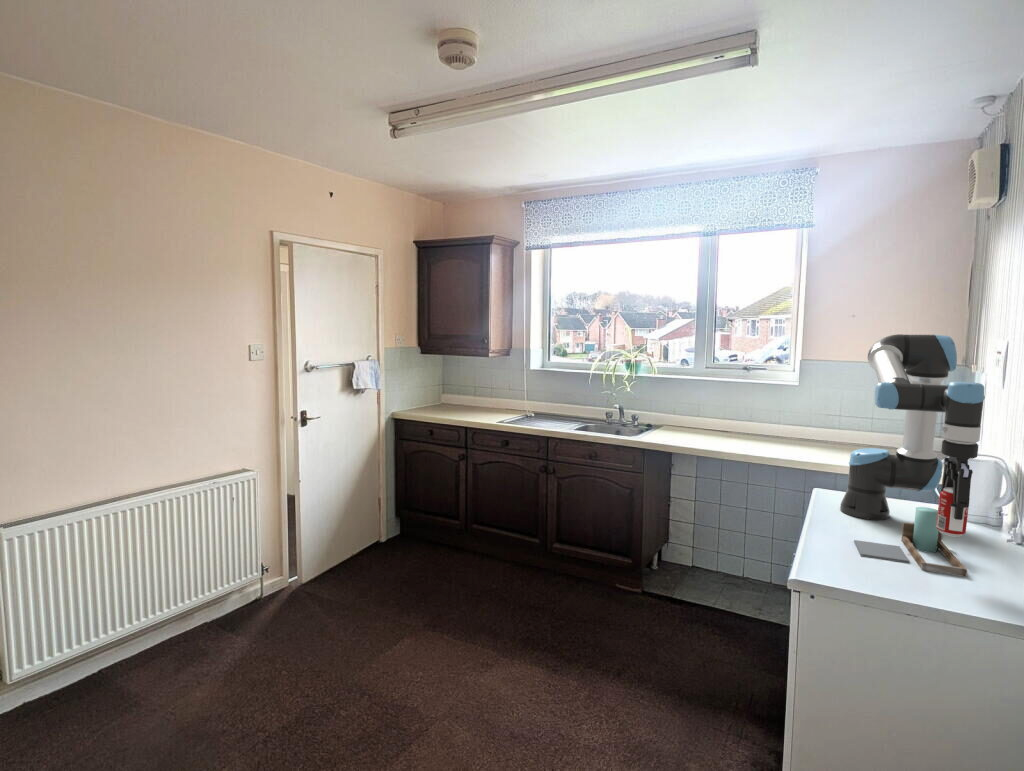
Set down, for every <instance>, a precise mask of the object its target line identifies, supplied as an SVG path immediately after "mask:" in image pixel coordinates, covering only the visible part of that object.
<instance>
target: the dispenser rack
mask: <svg viewBox="0 0 1024 771" xmlns="http://www.w3.org/2000/svg"><path fill="white" fill-rule="evenodd" d="M913 533H914V523H911V522H903V523H902V531H901V542H902V544H903V545H904V547H905V548H906V549H907V551H908V552H909V554H910V555H911V557H912V558H913V560H914V561H915V562H916V564H917V566H919V568H920V570H921V571H926V572H927V571H928V572H932V573H933V572H934V573H939V574H946V575H953V576H959V577H967V572H968V569H967V568H966V567H965V565H963V563H962V562H961V561H960V560H959V559H958V557H956V556H955V554H954V553H953V552H952V551H951V550H950V549H949V548H948V546H947V545H945V543H944V542H943V541H942V539H943V534H942V533H940V532H939V531H938V541H937V549H938V550H939V551H940V552H941V554H942V555H943V556H944V557H945V558H946V559H947V561H948V562H949V563H950V564H951V565H945V564H940V563H931V562H926V560H925V559H924V558H923V557H922V555H921V554H920V553H919V550H917V549H916V548H915V547H914V546H913Z"/></svg>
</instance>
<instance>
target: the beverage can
mask: <svg viewBox="0 0 1024 771" xmlns="http://www.w3.org/2000/svg"><path fill="white" fill-rule="evenodd" d="M970 500H971V498H969V501H970ZM950 504H953V488H952V487H946V488H944V489H943V491H942V492H941V491H940V492H939V496H938V506H937V510H938V514H937V523H936V528H937V529H938V530H939V532H940V533H942V535H945V536H948V537H951V538H952V537H953V538H961V537H962V536H963V535H965V534H966V532H967V526H968V525H967V523H968V517H969V516H968V515H969V507H970V506H969V507H966V508H965V512H964V521H963V530H962V532H961V531H953V530H949V523H950V514H951V506H950Z"/></svg>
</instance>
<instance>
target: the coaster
mask: <svg viewBox="0 0 1024 771" xmlns="http://www.w3.org/2000/svg"><path fill="white" fill-rule="evenodd" d="M853 543H854V545H855V547H856V549H857V551H858V554H859V555H860V556H861V557H867V558H873V559H881V560H887V561H892V562H893V561H895V562H900V563H906V564H907V563H908V564H909V563H910V559H909V558H908V556H907V555H906V554H905V552H904V551H903V549H902V548H901V547H900V545H893V544H886V543H878V542H871V541H865V540H864V541H863V540H857V539H854V540H853Z"/></svg>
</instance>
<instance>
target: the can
mask: <svg viewBox="0 0 1024 771" xmlns="http://www.w3.org/2000/svg"><path fill="white" fill-rule="evenodd" d="M937 514H938V509H937V508H936V509H935V508H931V507H925V506H918V507H915V514H914V523H913V524H914V533H913V543H912V544H913V546H914V547H915V548H916V550H917V551H920V552H926V553H936V552H938V550H937V549H938V547H937V541H938V531H939V530H938V529H937V528H936V523H937Z"/></svg>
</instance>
